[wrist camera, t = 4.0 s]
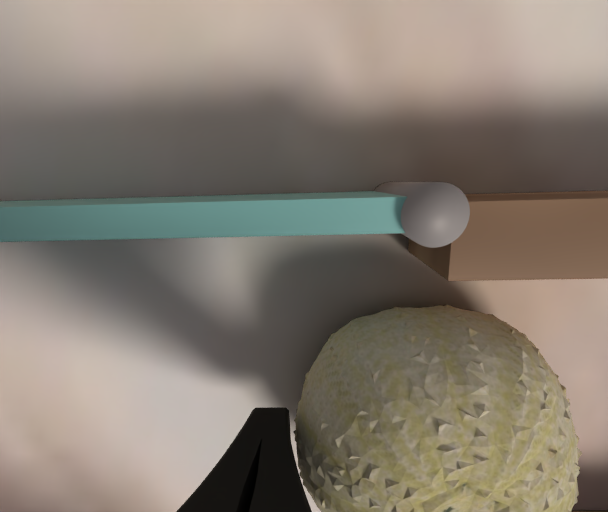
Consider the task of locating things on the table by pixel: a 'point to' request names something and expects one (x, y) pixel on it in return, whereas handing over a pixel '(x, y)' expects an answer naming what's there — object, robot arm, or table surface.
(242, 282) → the table surface
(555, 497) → the sea urchin shell
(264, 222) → the teal plank
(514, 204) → the bay
